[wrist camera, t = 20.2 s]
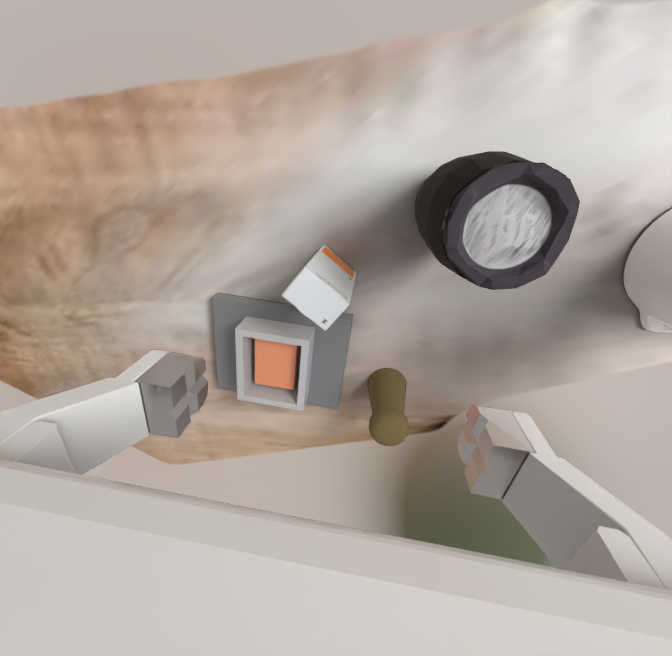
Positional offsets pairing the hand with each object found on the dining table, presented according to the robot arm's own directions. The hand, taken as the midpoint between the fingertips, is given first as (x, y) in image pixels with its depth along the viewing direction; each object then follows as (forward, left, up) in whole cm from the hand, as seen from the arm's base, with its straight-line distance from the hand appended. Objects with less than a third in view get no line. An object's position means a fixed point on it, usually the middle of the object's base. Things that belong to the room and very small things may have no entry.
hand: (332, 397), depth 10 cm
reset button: (+10, +20, -31) cm, 38 cm away
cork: (-7, +23, -33) cm, 41 cm away
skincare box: (+4, +6, -33) cm, 34 cm away
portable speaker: (-9, -4, -33) cm, 35 cm away
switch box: (+10, +20, -33) cm, 40 cm away
